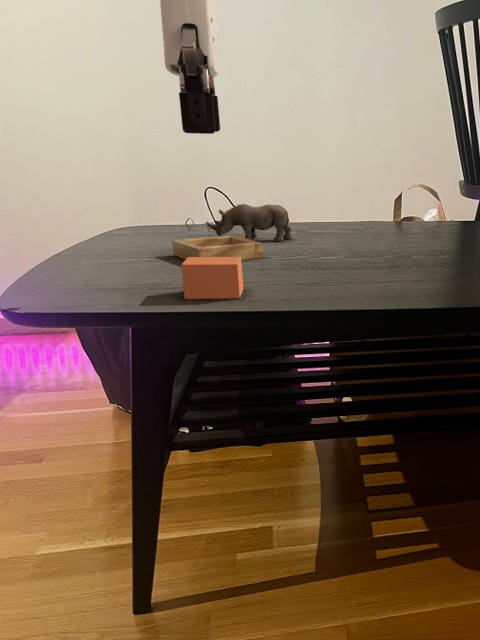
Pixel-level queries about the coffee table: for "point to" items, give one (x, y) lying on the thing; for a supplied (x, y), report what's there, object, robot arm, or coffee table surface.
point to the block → (212, 277)
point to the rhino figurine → (254, 220)
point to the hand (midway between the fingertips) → (202, 132)
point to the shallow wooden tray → (218, 247)
